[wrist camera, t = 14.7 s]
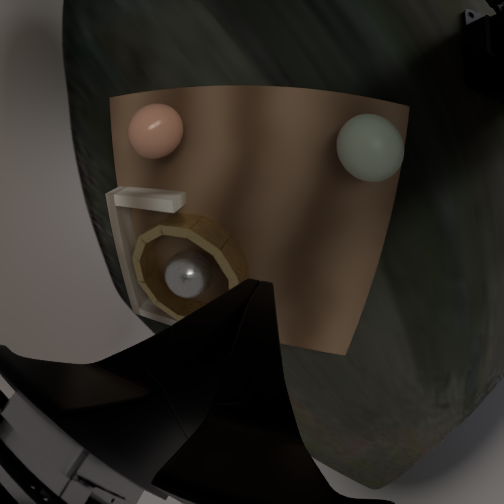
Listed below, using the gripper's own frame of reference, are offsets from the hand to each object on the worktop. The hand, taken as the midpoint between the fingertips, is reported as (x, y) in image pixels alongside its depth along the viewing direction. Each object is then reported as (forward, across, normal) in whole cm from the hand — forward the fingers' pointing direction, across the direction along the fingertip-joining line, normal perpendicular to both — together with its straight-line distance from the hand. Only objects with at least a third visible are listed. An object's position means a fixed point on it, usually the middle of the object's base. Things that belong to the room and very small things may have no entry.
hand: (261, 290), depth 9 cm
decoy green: (+10, -4, -4) cm, 11 cm away
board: (+13, +5, +5) cm, 15 cm away
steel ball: (+9, +9, +8) cm, 15 cm away
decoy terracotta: (+10, +10, -4) cm, 15 cm away
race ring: (+11, +9, +8) cm, 17 cm away
